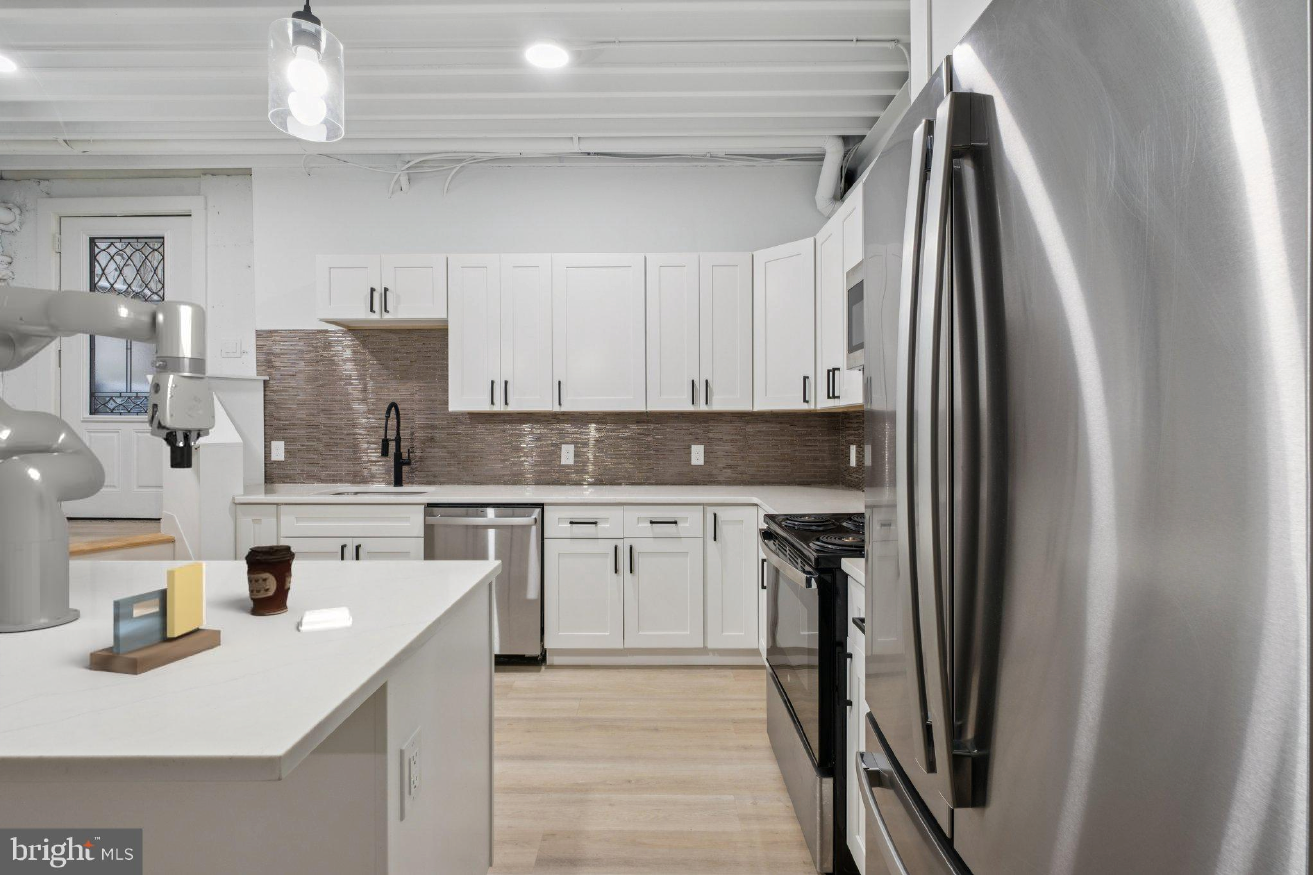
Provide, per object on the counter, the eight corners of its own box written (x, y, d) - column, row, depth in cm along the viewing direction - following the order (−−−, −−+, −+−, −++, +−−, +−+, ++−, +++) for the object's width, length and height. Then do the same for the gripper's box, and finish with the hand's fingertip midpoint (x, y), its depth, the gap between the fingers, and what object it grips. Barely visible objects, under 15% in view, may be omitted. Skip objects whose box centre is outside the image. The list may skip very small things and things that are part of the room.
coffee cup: (270, 619, 126) (270, 551, 126) (233, 616, 127) (233, 549, 127) (303, 607, 134) (303, 544, 134) (268, 605, 136) (268, 542, 136)
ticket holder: (89, 669, 99) (89, 599, 99) (177, 640, 113) (177, 579, 112) (136, 674, 97) (136, 603, 97) (220, 645, 110) (220, 582, 110)
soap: (297, 634, 117) (297, 618, 117) (298, 624, 123) (298, 609, 123) (353, 628, 121) (353, 612, 121) (351, 618, 127) (351, 604, 127)
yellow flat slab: (205, 624, 110) (205, 561, 110) (175, 637, 103) (174, 570, 103) (198, 624, 110) (198, 561, 110) (166, 637, 103) (166, 570, 103)
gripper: (158, 364, 114) (158, 470, 114) (232, 372, 128) (232, 466, 129) (124, 365, 116) (124, 470, 116) (201, 373, 130) (201, 466, 130)
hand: (181, 467), depth 122 cm, fingers closed
